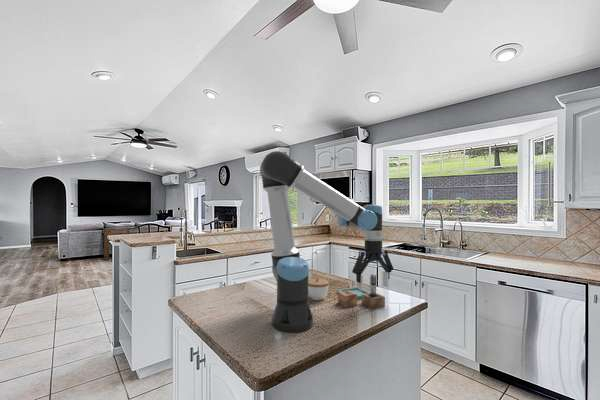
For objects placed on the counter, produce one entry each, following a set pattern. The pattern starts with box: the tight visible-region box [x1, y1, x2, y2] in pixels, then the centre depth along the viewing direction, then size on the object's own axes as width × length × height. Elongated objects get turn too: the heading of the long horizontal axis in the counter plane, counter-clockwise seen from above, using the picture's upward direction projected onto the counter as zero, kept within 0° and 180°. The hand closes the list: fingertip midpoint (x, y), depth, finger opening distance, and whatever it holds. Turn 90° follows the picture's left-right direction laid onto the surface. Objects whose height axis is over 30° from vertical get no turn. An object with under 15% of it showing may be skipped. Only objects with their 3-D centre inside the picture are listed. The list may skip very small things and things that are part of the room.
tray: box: [337, 286, 370, 300], centre depth 140 cm, size 12×12×2 cm
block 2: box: [361, 292, 386, 309], centre depth 127 cm, size 7×7×4 cm
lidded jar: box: [308, 277, 330, 301], centre depth 135 cm, size 11×11×9 cm
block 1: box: [337, 290, 358, 308], centre depth 128 cm, size 6×6×5 cm
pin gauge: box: [369, 273, 377, 297], centre depth 127 cm, size 3×3×13 cm
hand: (373, 288), depth 127 cm, fingers open, 13 cm apart
